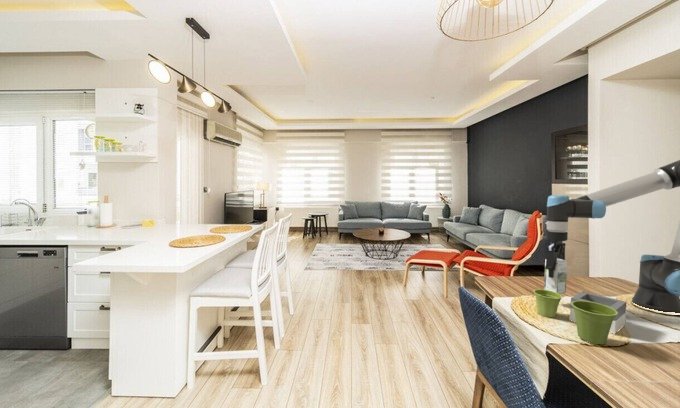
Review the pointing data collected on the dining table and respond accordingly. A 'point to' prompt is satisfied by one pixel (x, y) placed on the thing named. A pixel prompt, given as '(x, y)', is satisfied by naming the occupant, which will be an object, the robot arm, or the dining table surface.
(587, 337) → the plant pot
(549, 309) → the plant pot
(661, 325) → the dining table surface
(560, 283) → the syrup box
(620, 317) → the socket block
